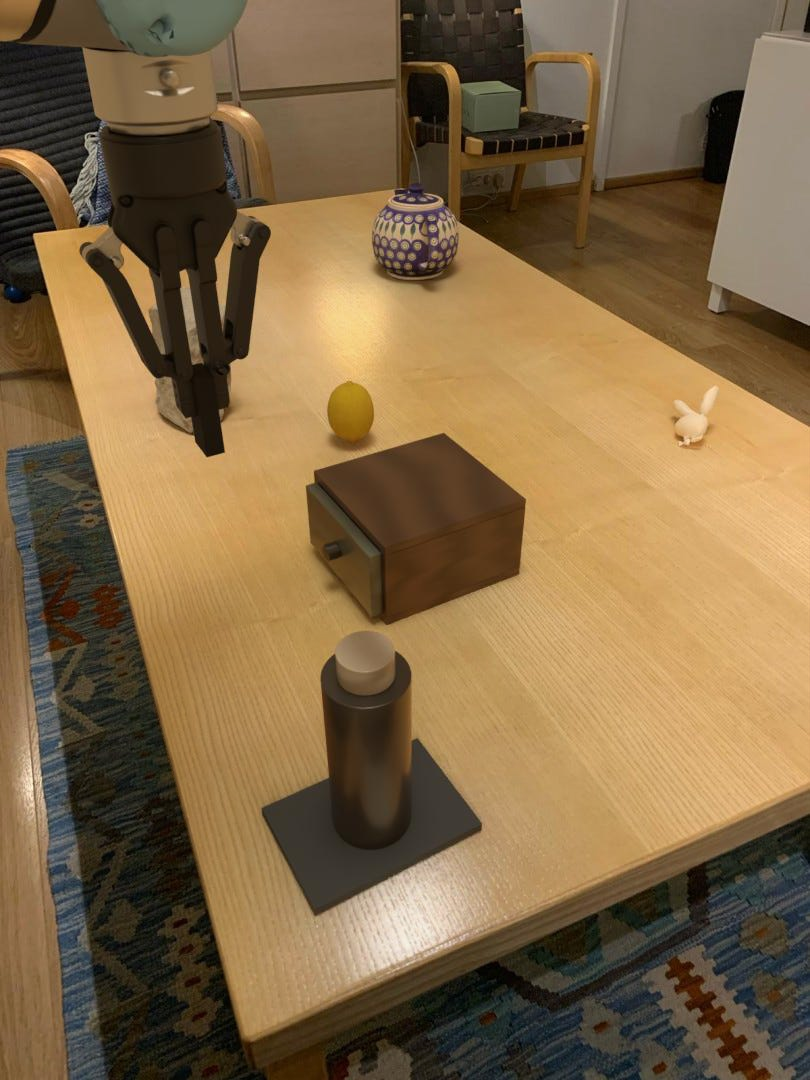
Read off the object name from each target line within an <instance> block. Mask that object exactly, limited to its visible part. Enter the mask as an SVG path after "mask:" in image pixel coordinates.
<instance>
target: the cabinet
mask: <svg viewBox="0 0 810 1080" xmlns="http://www.w3.org/2000/svg"><path fill="white" fill-rule="evenodd" d="M313 480H314V483H316V482H317V483H318V484H319V485H320V487H321V488H322V489H323V490H324V491H325V492H326V493H327V494H328V495H329V496H330V497H331V499H332V500H333V501H334V502H335V501H336V503H337V504H338V505H339V506H340V507H341V508H342V509H343V510H344V511H345V512H346V513H347V515H348V516H349V517H350V518H351V519H352V520H353V521H354V522H355V523H356V524H357V525H358V527H359V528H360V529H361V530H362V531H363V532H364V533H365V534H366V535H367V536H368V537H369V539H370V540H371V541H372V542H373V543H374V544H375V545H376V546H377V547H378V548H379V549H380V552H381V563H382V604H383V613H382V614H379V615H378V616H379V618H380V619H381V620H382V622H384V624H385V625H390V624H392V623H395V622H398V621H400V620H403V619H405V618H408V617H410V616H413V615H415V614H418V613H421V612H424V611H426V610H429V609H432V608H434V607H437V606H440V605H442V604H444V603H447V602H450V601H452V600H456V599H457V598H460V597H463V596H466V595H468V594H470V593H471V594H472V593H473V592H476V591H478V590H481V589H484V588H487V587H488V586H492V585H494V584H497V583H499V582H501V581H502V582H503V581H504V580H507V579H509V578H512V577H515V576H517V575H519V574H520V571H521V570H520V569H521V568H520V567H521V559H522V548H523V539H524V537H523V536H524V529H525V528H524V527H525V516H526V505H527V498H526V497H524V496H523V495H522V494H521V493H519V492H518V490H515V489H514V488H513V487H512V486H511V485H509V483H507V482H506V481H504V480H503V479H502V478H501V477H499V476H498V475H497V474H496V473H494V472H493V471H492V470H490V468H488V467H487V466H485V464H483V463H482V462H481V461H480V460H478V459H477V458H476V457H475V456H474V455H472V454H471V453H470V452H469V451H467V450H466V449H465V448H464V447H462V446H461V445H460V444H459V443H457V442H456V441H455V440H454V439H452V438H451V437H450V436H448V435H447V434H446V433H445V432H441V433H438V434H435V435H431V436H428V437H424V438H422V439H421V438H420V439H418V440H414V441H410V442H407V443H404V444H400V445H396V446H394V447H390V448H387V449H383V450H379V451H377V452H374V453H369V454H366V455H363V456H360V457H356V458H352V459H349V460H346V461H342V462H339V463H335V464H331V465H329V466H326V467H321V468H319V469H315V470H313Z"/></svg>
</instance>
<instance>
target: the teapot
mask: <svg viewBox="0 0 810 1080" xmlns="http://www.w3.org/2000/svg"><path fill="white" fill-rule="evenodd" d="M424 189H425V186H424V184H423V183H420V182H413V183H411V184H409V185H408V188H395V189H394V190H393V191H394V195H393V196H391V197H389V198H388V200H387V203H386V205H384V206H383V208H382V209H380V210H379V211H378V213H377V214H376V216H375V218H374V221H373V225H372V231H371V243H372V244H371V245H372V250H373V255H374V258H375V260H376V262H377V263H378V264H379V265H380V266H381V267H382V268H383V269H385V270H386V273H387V274H388V276H390V277H392V278H394V279H397V280H402V281H403V280H404V281H425V280H431V279H434V278H438V277H439V276H441V275H442V274H443V273H444V270H445V269H446V268H448V267H449V266H450V265H451V264H452V263H453V261H454V260H455V258H456V255H457V252H458V249H459V239H460V234H459V224H458V220H457V218H456V216H455V214H454V213H453V211H452V210H451V209H449V207H447V206H446V204H445V203H444V202H445V201H444V199H443V198H442V197H441V196H438V195H437V194H432V193H424Z"/></svg>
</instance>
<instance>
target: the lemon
mask: <svg viewBox="0 0 810 1080" xmlns="http://www.w3.org/2000/svg"><path fill="white" fill-rule="evenodd" d="M326 411H327V412H326V414H327V420H328V424H329V426H330V429H331V430H332V431H333V433H334V434H335V435H336V436H337V437H339V438H341V439H343V440H345V441H348V442H349V443H354V442H356V441H357V440H360V439H362V438H364V437H365V436H366V435H367V434H368V433H369V432H370V430H371V428H372V426H373V423H374V420H375V406H374V402H373V399H372V396H371V394H370V393H369V391H368V389H366V388H365V387H364V386H363V385H362V384H359V383H358V382H353V381H352V380H348V381H346V382H342V383H341V384H339V385H337V386H336V387H335V388H334V389H333V390H332V392H331V393H330V395H329V398H328V401H327V407H326Z"/></svg>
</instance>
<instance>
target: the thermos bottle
mask: <svg viewBox="0 0 810 1080" xmlns="http://www.w3.org/2000/svg"><path fill="white" fill-rule="evenodd" d="M412 679H413V675H412V669H411V666H410V664H409V662H408V661H407V659H406V658H405V657H404V656H403V655H402V654H401V653H399V652H398V651H397V650H396V648H395V645H394V643H393V642H392V640H391V638H389V637H387V636H386V635H384V634H382V633H380V632H378V631H373V630H360V631H359V630H358V631H356V632H352V633H350V634H347V635H346V636H344V637H343V638H341V640H340V641H339V642H338V643H337V645H336V647H335V650H334V653H333V654H332V655H331V656H330V657H329V658H328V659H327V660H326V662H325V663H324V664H323V666H322V669H321V672H320V690H321V703H322V714H323V725H324V726H323V727H324V737H325V745H326V746H325V749H326V759H327V760H326V761H327V773H328V778H329V785H330V797H331V808H332V820H333V825H334V828H335V830H336V832H337V833H338V835H339V836H340V837H341V838H342V839H343V840H344V841H345V842H347V843H348V844H350V845H352V846H354V847H357V848H361V849H368V850H373V849H381V848H384V847H387V846H390V845H392V844H393V843H395V842H397V841H398V840H399V839H400V838H401V837H402V836H403V835H404V834H405V833H406V831H407V829H408V828H409V825H410V822H411V782H412V740H413V739H412V738H413V737H412V736H413V735H412V729H413V726H412V725H413V724H412V716H413V715H412V714H413V713H412V712H413V711H412V708H413V707H412V706H413V705H412V704H413V703H412V701H413V700H412V699H413V698H412V696H413V695H412V693H413V691H412V690H413V689H412V687H413V685H412V684H413V682H412V681H413V680H412Z"/></svg>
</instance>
